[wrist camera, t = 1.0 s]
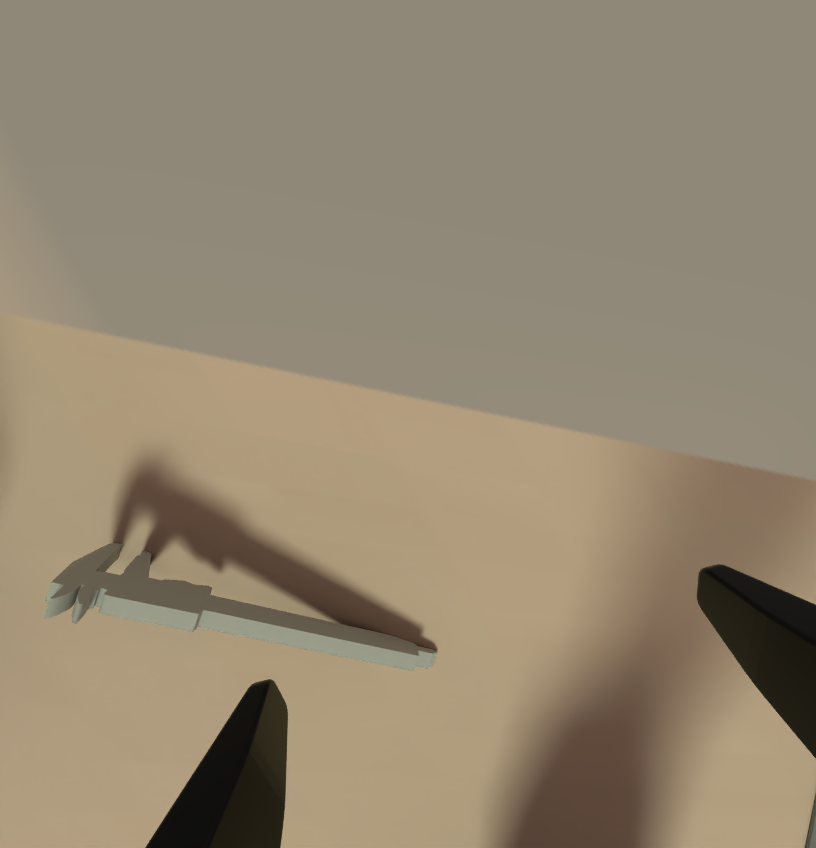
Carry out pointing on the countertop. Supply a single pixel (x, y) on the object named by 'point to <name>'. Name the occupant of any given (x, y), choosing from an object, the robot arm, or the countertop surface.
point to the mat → (812, 830)
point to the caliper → (213, 612)
